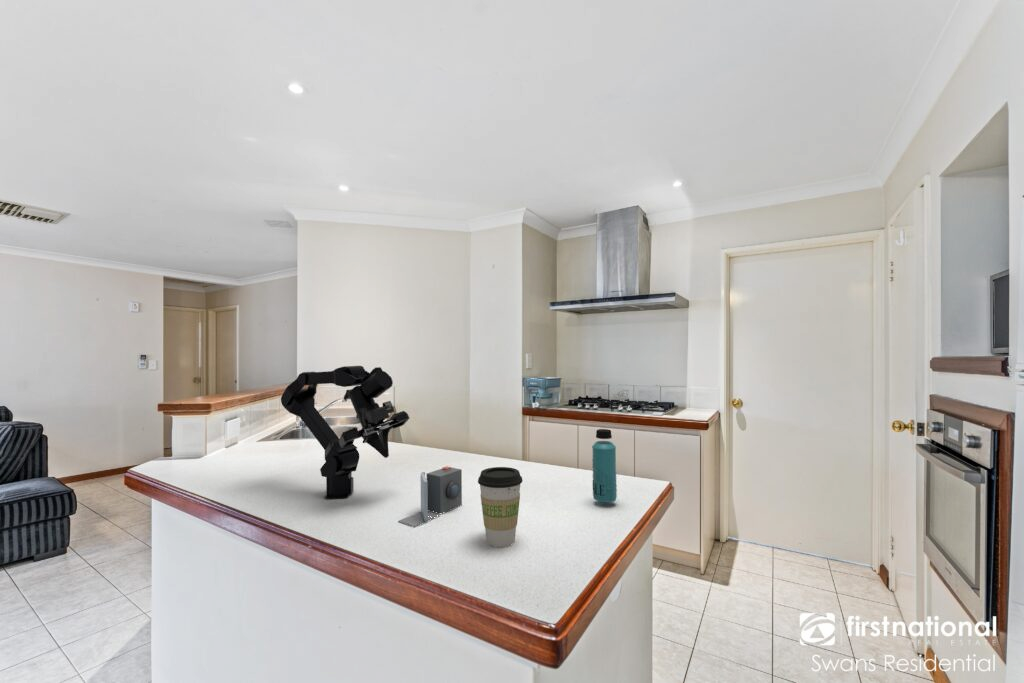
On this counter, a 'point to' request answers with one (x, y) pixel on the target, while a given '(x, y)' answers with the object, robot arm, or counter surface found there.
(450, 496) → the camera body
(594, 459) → the beverage bottle
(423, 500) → the side door
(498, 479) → the coffee cup
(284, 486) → the counter surface
